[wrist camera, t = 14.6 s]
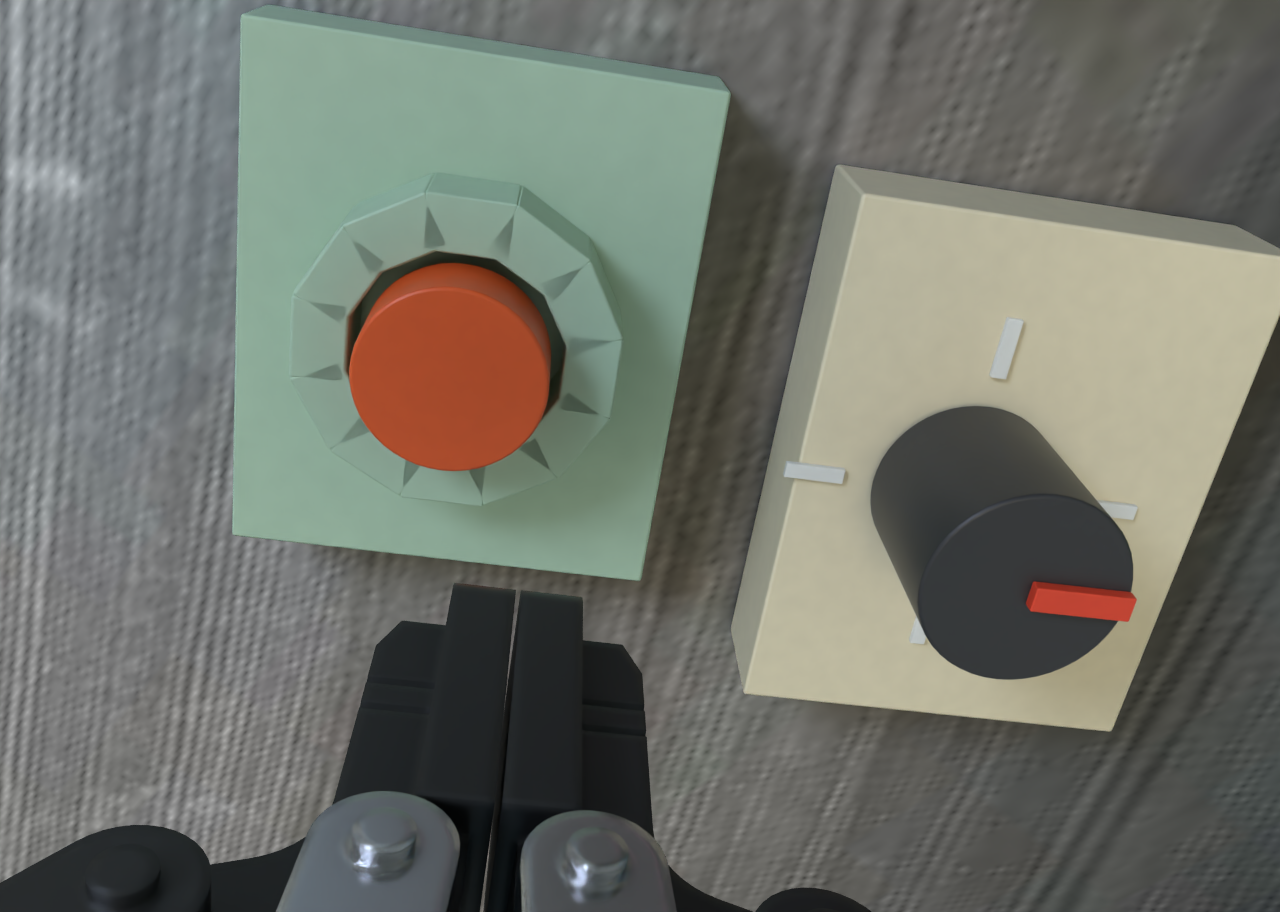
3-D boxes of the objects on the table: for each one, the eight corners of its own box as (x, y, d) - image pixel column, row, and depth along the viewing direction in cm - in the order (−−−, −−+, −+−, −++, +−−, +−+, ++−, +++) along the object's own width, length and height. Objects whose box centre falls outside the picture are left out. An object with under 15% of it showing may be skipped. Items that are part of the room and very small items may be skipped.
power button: (368, 249, 24) (354, 273, 23) (562, 276, 25) (561, 302, 23) (357, 425, 26) (343, 460, 25) (539, 448, 27) (536, 483, 25)
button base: (265, 3, 26) (214, 23, 22) (721, 76, 27) (742, 105, 23) (253, 494, 31) (210, 575, 27) (636, 538, 32) (644, 622, 28)
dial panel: (822, 161, 28) (850, 192, 25) (1236, 224, 29) (1307, 262, 26) (718, 628, 33) (732, 697, 30) (1070, 666, 34) (1114, 737, 31)
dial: (851, 560, 29) (898, 679, 25) (894, 393, 27) (954, 490, 23) (1024, 579, 29) (1101, 699, 25) (1079, 416, 28) (1172, 515, 23)
